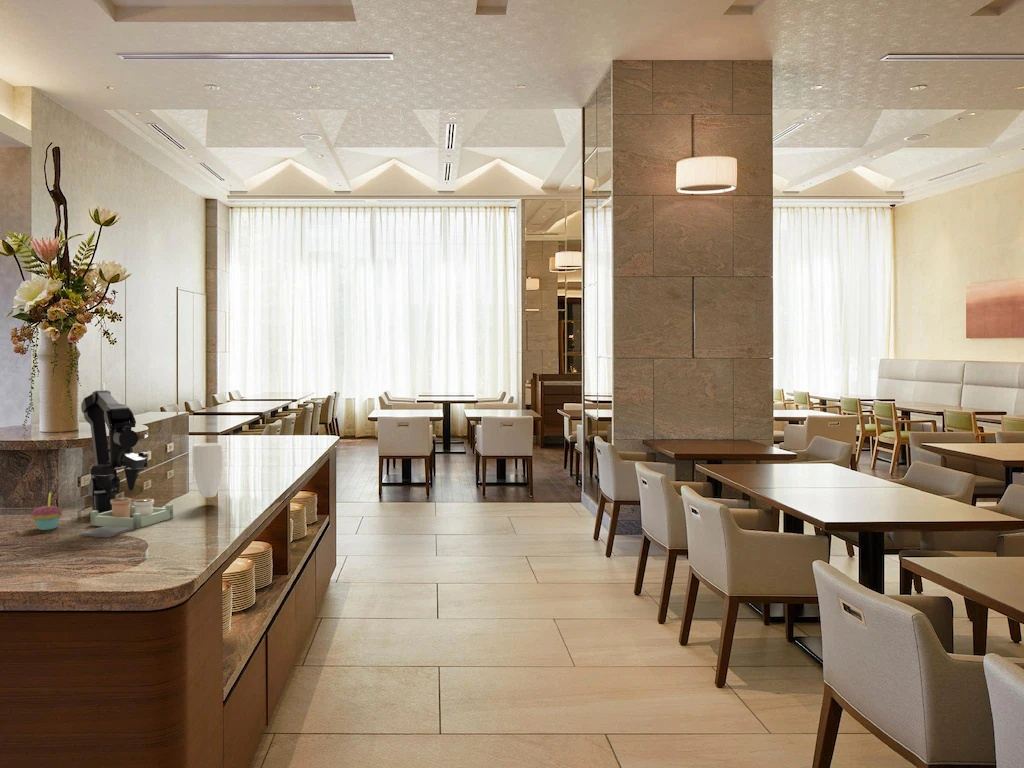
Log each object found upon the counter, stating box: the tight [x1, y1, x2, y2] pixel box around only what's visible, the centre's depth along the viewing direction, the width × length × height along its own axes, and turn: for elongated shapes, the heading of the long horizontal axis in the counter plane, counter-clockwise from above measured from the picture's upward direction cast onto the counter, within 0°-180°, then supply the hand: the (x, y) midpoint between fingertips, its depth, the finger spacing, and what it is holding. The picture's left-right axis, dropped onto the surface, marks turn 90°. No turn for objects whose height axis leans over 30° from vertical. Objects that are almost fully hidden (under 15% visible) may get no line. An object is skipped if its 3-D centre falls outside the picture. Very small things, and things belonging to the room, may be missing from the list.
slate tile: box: [80, 526, 134, 538], centre depth 241 cm, size 10×10×1 cm
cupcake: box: [29, 490, 63, 531], centre depth 247 cm, size 9×8×12 cm
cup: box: [192, 442, 224, 498], centre depth 283 cm, size 10×10×22 cm
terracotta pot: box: [110, 497, 132, 518], centre depth 258 cm, size 6×6×7 cm
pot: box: [132, 498, 155, 517], centre depth 255 cm, size 6×6×7 cm
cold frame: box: [89, 501, 174, 529], centre depth 256 cm, size 18×16×4 cm
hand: (120, 493), depth 257 cm, fingers open, 9 cm apart
